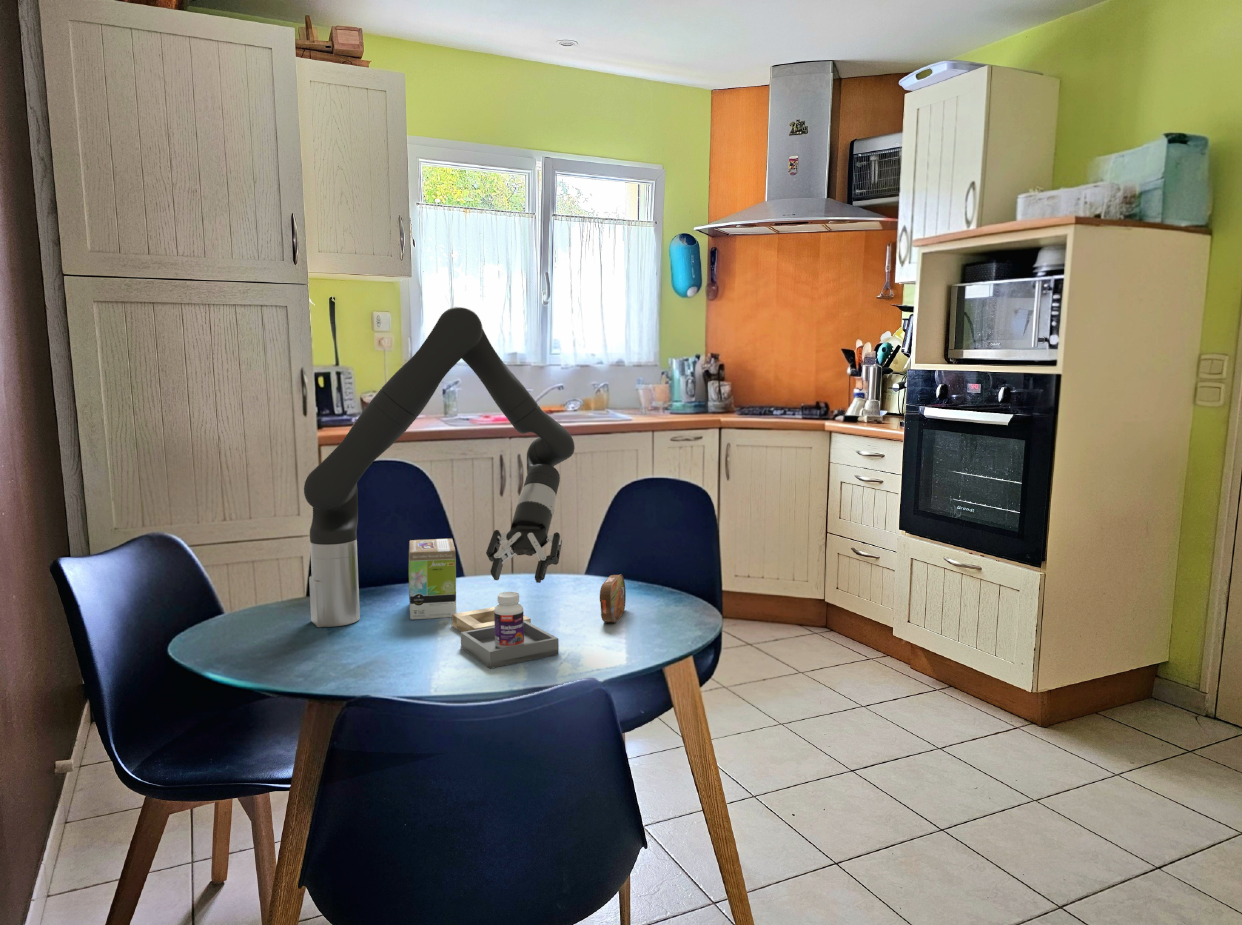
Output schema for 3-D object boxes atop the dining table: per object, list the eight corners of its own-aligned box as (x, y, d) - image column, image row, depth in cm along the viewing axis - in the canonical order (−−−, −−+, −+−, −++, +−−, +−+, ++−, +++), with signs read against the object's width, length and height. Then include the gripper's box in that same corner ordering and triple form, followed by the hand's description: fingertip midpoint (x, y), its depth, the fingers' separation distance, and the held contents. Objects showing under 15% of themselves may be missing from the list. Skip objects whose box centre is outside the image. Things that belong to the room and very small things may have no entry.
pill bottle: (500, 651, 150) (498, 599, 149) (491, 643, 155) (489, 592, 154) (528, 646, 152) (527, 595, 151) (518, 638, 157) (517, 589, 156)
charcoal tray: (490, 668, 144) (489, 651, 144) (460, 647, 155) (460, 632, 155) (558, 654, 151) (558, 638, 151) (525, 635, 163) (525, 620, 162)
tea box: (458, 617, 175) (456, 549, 174) (409, 621, 173) (407, 552, 172) (454, 599, 190) (452, 536, 189) (409, 602, 188) (407, 538, 186)
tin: (612, 627, 167) (612, 587, 167) (597, 627, 168) (597, 586, 167) (627, 607, 182) (626, 570, 181) (613, 607, 183) (612, 570, 182)
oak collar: (475, 641, 159) (474, 628, 159) (452, 625, 169) (451, 613, 169) (530, 630, 166) (530, 618, 165) (505, 616, 176) (505, 605, 175)
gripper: (496, 498, 165) (475, 567, 155) (564, 500, 162) (547, 570, 152) (506, 520, 171) (486, 587, 161) (572, 522, 168) (556, 591, 158)
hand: (516, 579), depth 157 cm, fingers open, 8 cm apart
